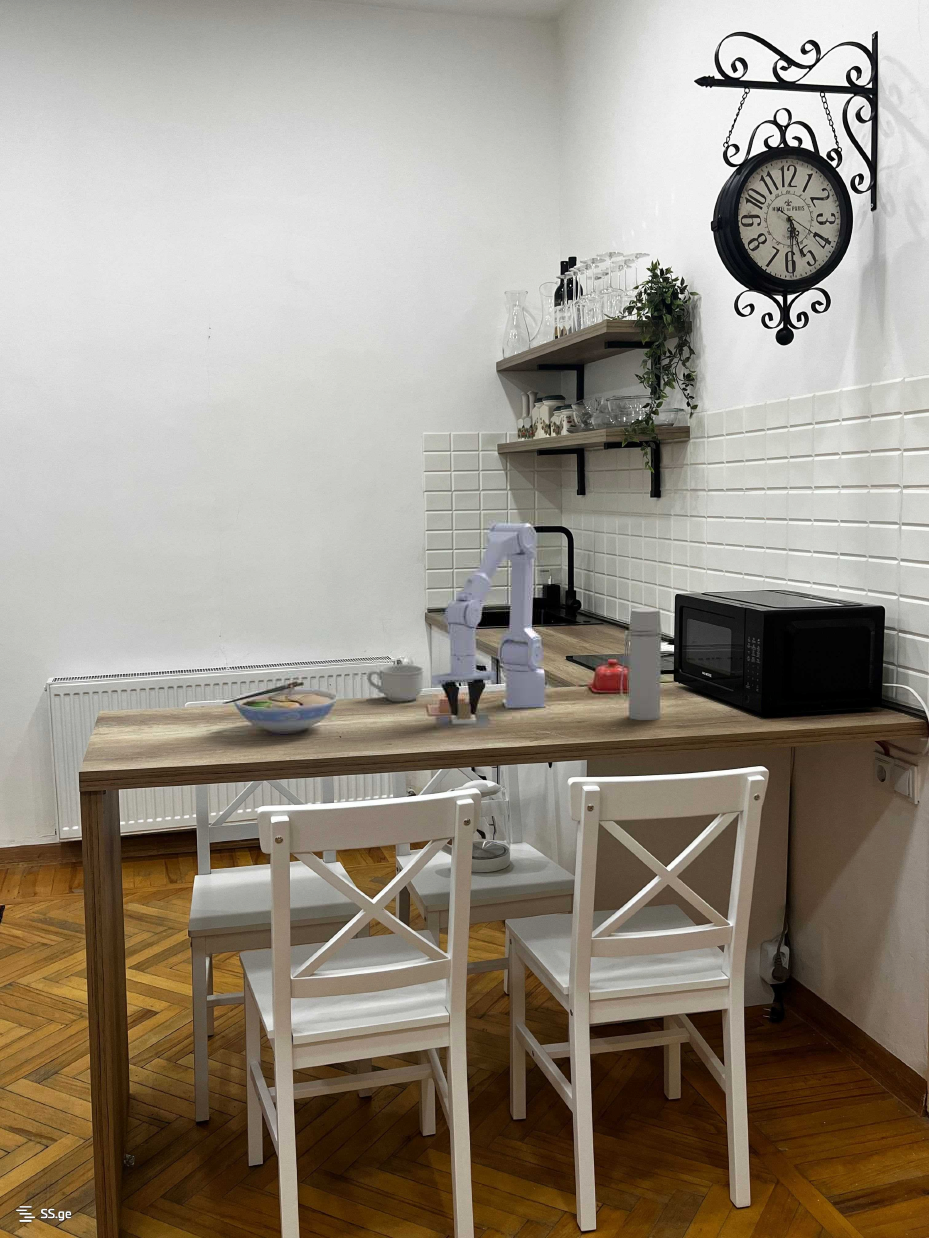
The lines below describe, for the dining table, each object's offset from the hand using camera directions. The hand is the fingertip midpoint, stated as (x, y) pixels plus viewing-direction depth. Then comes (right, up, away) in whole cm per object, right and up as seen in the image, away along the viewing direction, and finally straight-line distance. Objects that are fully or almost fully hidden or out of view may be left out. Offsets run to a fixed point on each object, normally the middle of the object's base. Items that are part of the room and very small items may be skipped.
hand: (463, 714), depth 240 cm
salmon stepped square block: (-3, 0, +13) cm, 13 cm away
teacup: (-17, +1, +28) cm, 33 cm away
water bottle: (+40, -2, +2) cm, 40 cm away
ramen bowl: (-39, -3, -5) cm, 39 cm away
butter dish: (+38, +2, +36) cm, 53 cm away
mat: (0, -2, 0) cm, 2 cm away
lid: (0, -2, 0) cm, 2 cm away
